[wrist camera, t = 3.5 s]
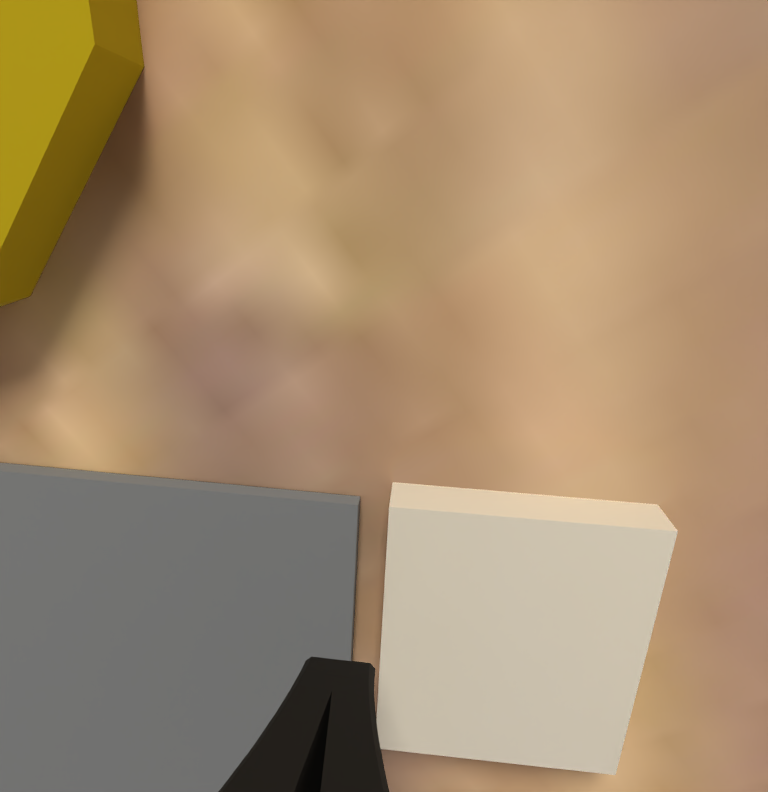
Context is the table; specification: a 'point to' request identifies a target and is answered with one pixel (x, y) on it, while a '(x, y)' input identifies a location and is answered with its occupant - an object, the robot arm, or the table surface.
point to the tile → (516, 624)
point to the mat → (158, 623)
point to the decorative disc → (56, 118)
